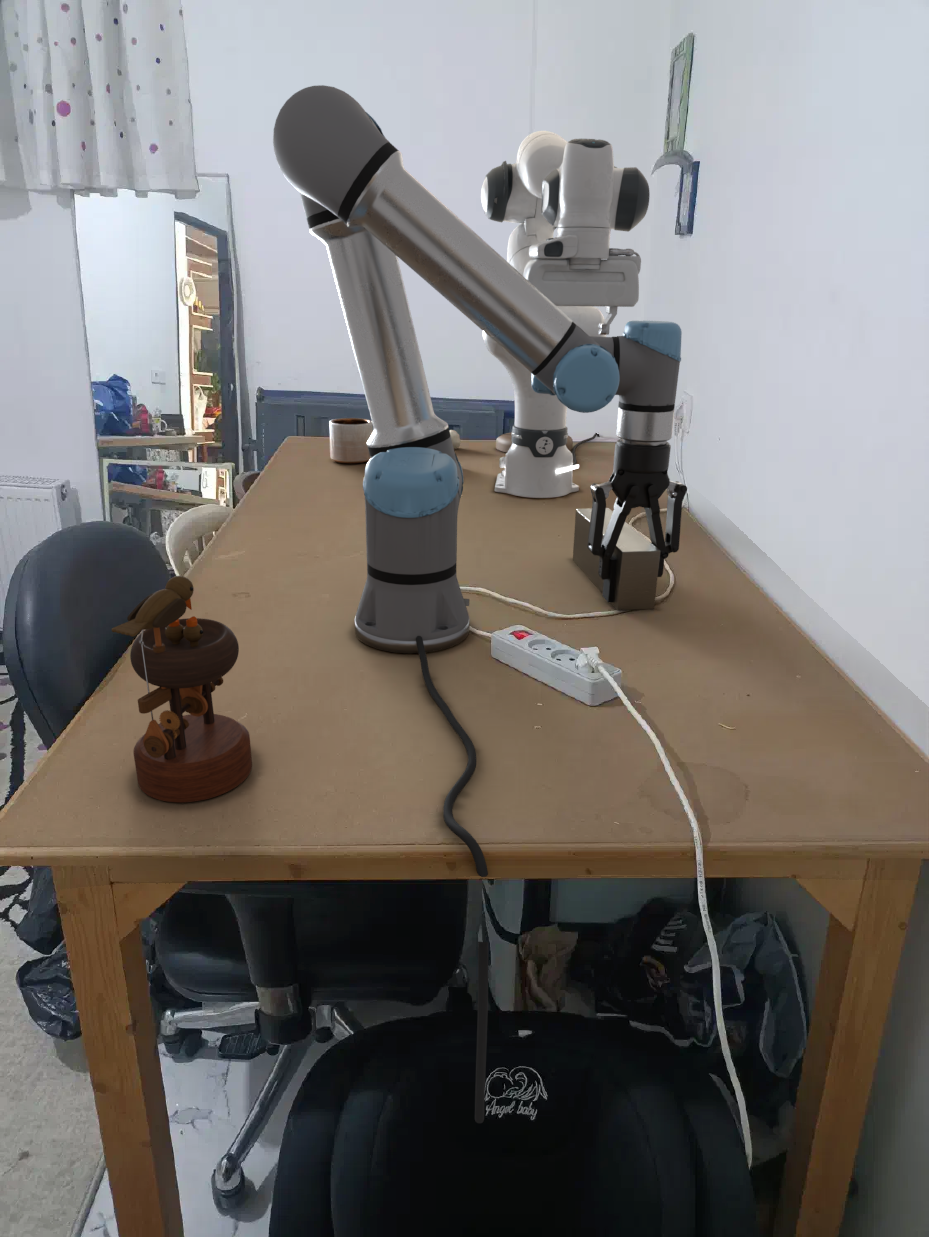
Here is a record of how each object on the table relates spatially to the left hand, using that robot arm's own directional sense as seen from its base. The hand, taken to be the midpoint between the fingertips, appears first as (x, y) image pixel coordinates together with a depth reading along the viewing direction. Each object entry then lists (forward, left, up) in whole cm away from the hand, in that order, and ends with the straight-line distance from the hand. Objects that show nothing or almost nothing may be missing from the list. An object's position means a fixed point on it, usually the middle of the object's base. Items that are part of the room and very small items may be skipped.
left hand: (628, 597), depth 125 cm
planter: (+91, +62, -1) cm, 110 cm away
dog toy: (+109, +47, -1) cm, 118 cm away
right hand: (+38, +9, +34) cm, 52 cm away
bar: (+8, +2, -1) cm, 8 cm away
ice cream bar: (+108, +16, -1) cm, 109 cm away
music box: (-51, +45, -1) cm, 68 cm away
